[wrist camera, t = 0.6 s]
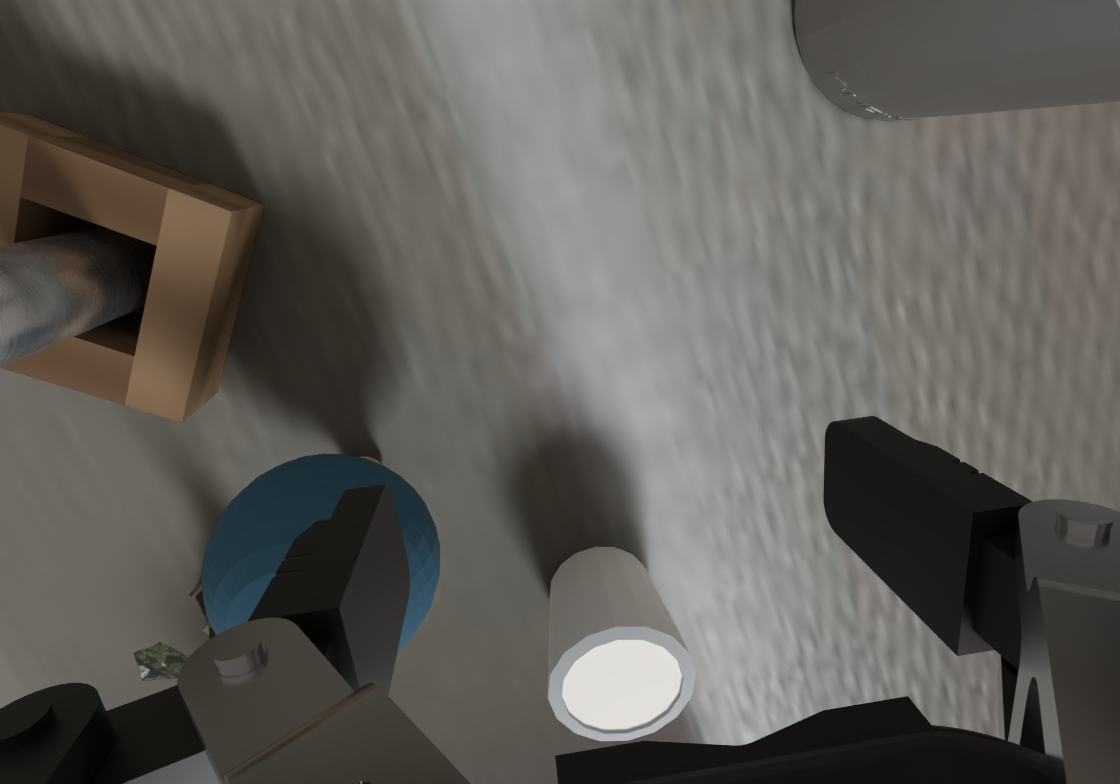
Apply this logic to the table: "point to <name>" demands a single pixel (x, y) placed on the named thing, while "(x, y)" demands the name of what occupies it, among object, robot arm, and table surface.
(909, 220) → the table surface
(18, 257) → the pin
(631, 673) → the white cylinder
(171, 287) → the socket block
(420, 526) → the light bulb
